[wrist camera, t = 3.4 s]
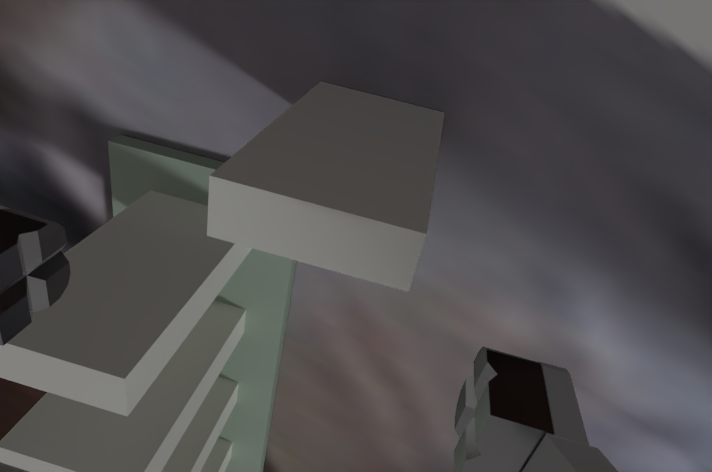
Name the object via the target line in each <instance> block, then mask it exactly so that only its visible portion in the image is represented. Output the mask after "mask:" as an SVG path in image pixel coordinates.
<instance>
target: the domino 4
mask: <svg viewBox="0 0 712 472" xmlns="http://www.w3.org/2000/svg"><path fill="white" fill-rule="evenodd" d="M232 443H233V442H230V441H227V440H224V439H221V438H218V439H217V440H216V442H215V444H214V446H213V448H212V450H211V452H210V454H209V456H208V458H207V460H206V462H205V464H204V466H203V467H202V469H201V471H200V472H225V469H226V467H227V465H228V463H229V461H230V459H231V452H232Z"/></svg>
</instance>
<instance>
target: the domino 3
mask: <svg viewBox="0 0 712 472" xmlns="http://www.w3.org/2000/svg"><path fill="white" fill-rule="evenodd" d="M238 384H239V383H238V382H235V381H232V380H228V379H225V378H222V377H217V379H216V380H215V382H214V384H213V385H212V387H211V389H210V391H209V392H208V394H207V396H206V397H205V399H204V401H203V402H202V404H201V406H200V407H199V409H198V411H197V412H196V414H195V416H194V417H193V419H192V421H191V422H190V424H189V426H188V427H187V429H186V431H185V433H184V434H183V436H182V438H181V439H180V441H179V443H178V444H177V446H176V448H175V449H174V451H173V453H172V454H171V456H170V458H169V459H168V461H167V463H166V464H165V466H164V468H163V469H162V471H161V472H200V471H201V469H202V467H203V466H204V464H205V462H206V460H207V458H208V456H209V454H210V452H211V450H212V448H213V446H214V444H215V442H216V440H217V439H218V437H219V435H220V433H221V431H222V429H223V427H224V425H225V423H226V421H227V419H228V417H229V415H230V414H231V412H232V410H233V408H234V406H235V404H236V402H237V393H238Z"/></svg>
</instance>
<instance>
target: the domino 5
mask: <svg viewBox="0 0 712 472" xmlns="http://www.w3.org/2000/svg"><path fill="white" fill-rule="evenodd" d="M444 113H445V112H441V111H437V110H433V109H429V108H425V107H421V106H417V105H413V104H409V103H405V102H401V101H397V100H393V99H389V98H385V97H381V96H377V95H373V94H369V93H365V92H362V91H358V90H354V89H350V88H346V87H342V86H338V85H334V84H330V83H326V82H322V81H321V82H319V83H318V84H317V85H316V86H315V87H313V88H312V89H311V90H310V91H309V92H308V93H306V94H305V95H304V96H303V97H302V98H300V99H299V100H298V101H297V102H296V103H295V104H293V105H292V106H291V107H290V108H289V109H287V110H286V111H285V112H284V113H283V114H282V115H280V116H279V117H278V118H277V119H276V120H274V121H273V122H272V123H271V124H270V125H269V126H267V127H266V128H265V129H264V130H263V131H261V132H260V133H259V134H258V135H257V136H256V137H254V138H253V139H252V140H251V141H250V142H248V143H247V144H246V145H245V146H244V147H243V148H241V149H240V150H239V151H238V152H237V153H235V154H234V155H233V156H232V157H231V158H230V159H228V160H227V161H226V162H225V163H224V164H222V165H221V166H220V167H219V168H218V169H217V170H215V171H214V172H213V173H212V174H211V175H209V196H208V220H207V236H210V237H214V238H217V239H221V240H224V241H228V242H231V243H235V244H239V245H242V246H246V247H249V248H253V249H257V250H260V251H264V252H267V253H271V254H275V255H278V256H282V257H285V258H289V259H292V260H296V261H300V262H303V263H307V264H310V265H314V266H318V267H321V268H325V269H328V270H332V271H335V272H339V273H343V274H346V275H350V276H353V277H357V278H361V279H364V280H368V281H371V282H375V283H379V284H382V285H386V286H389V287H393V288H396V289H400V290H404V291H407V292H409V289H410V286H411V283H412V280H413V276H414V273H415V270H416V267H417V264H418V261H419V257H420V254H421V251H422V248H423V245H424V242H425V239H426V235H427V230H428V223H429V216H430V209H431V202H432V196H433V189H434V182H435V175H436V168H437V161H438V154H439V147H440V141H441V134H442V127H443V120H444Z"/></svg>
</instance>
